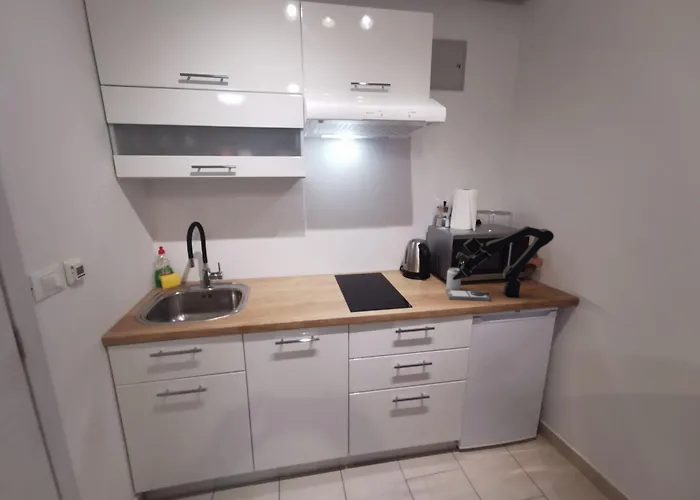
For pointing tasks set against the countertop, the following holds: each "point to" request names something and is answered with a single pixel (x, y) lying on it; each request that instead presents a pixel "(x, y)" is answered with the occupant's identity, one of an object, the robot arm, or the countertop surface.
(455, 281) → the can
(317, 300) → the countertop surface
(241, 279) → the countertop surface
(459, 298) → the grey flat device
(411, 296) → the countertop surface
